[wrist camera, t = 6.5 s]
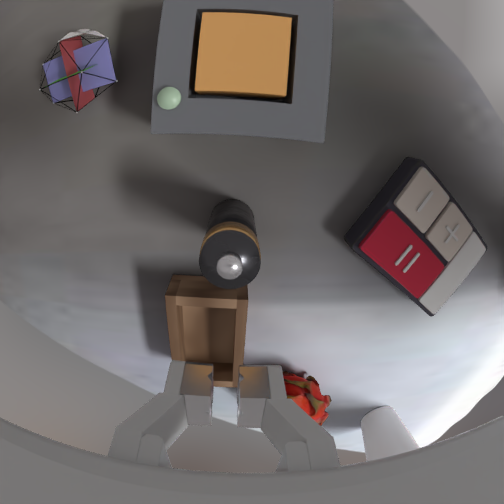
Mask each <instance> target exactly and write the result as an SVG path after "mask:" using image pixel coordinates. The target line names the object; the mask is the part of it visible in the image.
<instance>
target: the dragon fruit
mask: <svg viewBox="0 0 504 504" xmlns="http://www.w3.org/2000/svg"><path fill="white" fill-rule="evenodd" d="M282 372H283V378H284V384H285V390H286V396H287V399H292V400H293V401H294V402H295V403H296V404H297V405H298V406H299V407H300V408H301V409H302V410H304V411H305V412H306V413H307V414H308V415H309V416H310V417H311V418H312V419H313V420H314V421H316V422H317V423H318V424H319V425H320V426H321V425H322V423H323V422H324V421H325V420H326V419H327V417H328V415H329V414H328V413H327V412H325V409H326V407H328V406H329V405H330V402H331V399H330V396H329V395H325V396H323V395H321V392H320V389H319V384H318V382H317V381H316V380H315V378H314V377H312V376H308V377H307V378H306V379H304V378H302V377H298V376H296V375H295V374H292V373H288V372H287V371H282Z"/></svg>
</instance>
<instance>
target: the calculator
mask: <svg viewBox="0 0 504 504" xmlns="http://www.w3.org/2000/svg"><path fill="white" fill-rule="evenodd" d="M345 241H346V242H347V243H348V244H349V245H350V247H351V248H352V249H353V250H354V251H355V252H356V253H358V254H359V255H360V256H361V257H362V258H364V259H365V260H366V261H367V262H368V263H370V264H371V265H372V266H373V267H374V268H376V269H377V270H378V271H379V272H380V273H382V274H383V275H384V276H385V277H386V278H387V279H389V280H390V281H391V282H392V283H393V284H394V285H396V286H397V287H398V288H399V289H400V290H401V291H402V292H404V293H405V294H406V295H407V296H408V297H409V298H410V299H411V300H413V301H414V302H415V303H416V304H417V305H418V306H419V307H420V308H422V309H423V310H424V311H425V312H426V313H427V314H428V315H429V316H434V315H435V314H436V313H437V311H438V310H439V309H440V308H441V307H442V306H443V305H444V304H445V302H446V301H447V300H448V299H449V298H450V297H451V295H452V294H453V293H454V292H455V291H456V289H457V288H458V287H459V286H460V284H461V283H462V282H463V281H464V279H465V278H466V277H467V276H468V274H469V273H470V272H471V271H472V269H473V268H474V267H475V265H476V264H477V263H478V261H479V260H480V259H481V257H482V256H483V254H484V253H485V252H486V250H487V245H486V244H485V242H484V241H483V239H482V238H481V236H480V235H479V233H478V232H477V230H476V229H475V227H474V226H473V224H472V223H471V221H470V220H469V219H468V217H467V216H466V214H465V213H464V212H463V210H462V209H461V207H460V206H459V205H458V203H457V202H456V201H455V200H454V198H453V197H452V196H451V194H450V193H449V192H448V191H447V189H446V188H445V187H444V186H443V184H442V183H441V182H440V181H439V179H438V178H437V177H436V176H435V175H434V173H433V172H432V171H431V170H430V169H429V168H428V166H427V165H426V164H425V163H424V162H423V161H422V160H419V159H415V158H410V157H407V158H406V159H405V160H404V161H403V163H402V164H401V165H400V167H399V168H398V169H397V170H396V172H395V173H394V174H393V176H392V177H391V178H390V180H389V181H388V182H387V184H386V185H385V186H384V187H383V189H382V190H381V191H380V193H379V194H378V195H377V196H376V198H375V199H374V200H373V201H372V203H371V204H370V205H369V207H368V208H367V209H366V210H365V212H364V213H363V214H362V215H361V216H360V218H359V219H358V220H357V221H356V223H355V224H354V225H353V226H352V228H351V229H350V230H349V231H348V232H347V234H346V235H345Z"/></svg>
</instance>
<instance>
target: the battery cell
mask: <svg viewBox="0 0 504 504" xmlns="http://www.w3.org/2000/svg"><path fill="white" fill-rule="evenodd" d="M260 263H261V255H260V248H259V243H258V239H257V234H256V228H255V222H254V216H253V213H252V210H251V209H250V207H249V206H248V205H247V204H245V203H244V202H242V201H240V200H235V199H229V200H225V201H223V202H221V203H219V204H218V205H217V206H216V207H215V208H214V210H213V212H212V214H211V218H210V221H209V225H208V228H207V232H206V235H205V237H204V240H203V243H202V246H201V250H200V257H199V265H200V269H201V272H202V274H203V275H204V277H205V278H206V279H207V280H208V281H209V282H210V283H212V284H213V285H215V286H217V287H220V288H224V289H237V288H241V287H243V286H245V285H247V284H249V283H250V282H251V281H252V280H253V279H254V278H255V277H256V275H257V274H258V272H259V269H260Z"/></svg>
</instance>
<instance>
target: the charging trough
mask: <svg viewBox="0 0 504 504" xmlns="http://www.w3.org/2000/svg"><path fill="white" fill-rule="evenodd" d="M165 302H166V313H167V323H168V332H169V341H170V349H171V357H172V360H177V361H189V362H198V363H209V364H213V379H214V384H213V386H215V387H237V386H238V371H239V365H243V359H244V346H245V334H246V321H247V308H248V288H247V285H245V286H243V287H241V288H237V289H224V288H220V287H217V286H215V285H213V284H212V283H210V282H209V281H208V280H207V279H206V278H205V277H204V276H189V275H173V276H172V278H171V281H170V284H169V286H168V289H167V291H166V294H165Z"/></svg>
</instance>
